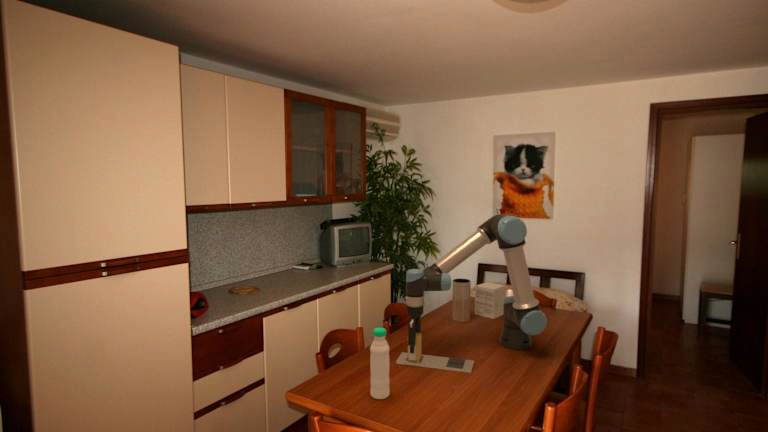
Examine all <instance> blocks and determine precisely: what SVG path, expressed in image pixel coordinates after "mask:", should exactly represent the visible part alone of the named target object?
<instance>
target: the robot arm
mask: <svg viewBox="0 0 768 432" xmlns="http://www.w3.org/2000/svg"><path fill="white" fill-rule="evenodd" d="M527 230H528V229H527V225H526V224H525V222H524V221H523V220H522V219H521V218H519V217H517V216H514V215H509V214H502V213H499V214H495V215H493V216H491V217H490V218H488V219H487V220H485V221H483V223H481V224H480V225H478V227H477V228H476V230H475V232H473V233H472V234H471V235H469V236H468V237H467V238H466V239H464V240H463V241H462V242H460V243H459V244H458V245H456V246H455V247H454V248H452V249H451V250H450V251H449V252H447V253H446V254H445V255H443V256H441V258H439V259H438V260H436V262H434V263H433V264H431V265H430V266H429V265H428V266H425V267H423V268H422V269H420V268H412V269H411V268H410V269H408V270H406V276H405V295H406V296H405V297H404V299H405V300H406V301H405V302H406V303H405V304H406V306H405V313H406V315H408V316H410V318H409V320H408V324H407V325H408V330H407V331H408V332H407V333H408V335H407V343H406V344H407V347H408V346H409V360H416V345H415V340H416V332H417V333H422V323H421V321H422V320H421V316H423V315H424V292H444V291H445V292H446V291H450V290H451V287H452V278H451V275H450V273H451V271H453V270H454V269H455V268H457V267H459V265H461V264H463V262H465V261H467V259H468V258H470V257H471V256H472V255H474V254H475V253H477V252H478V251H479V250H480V249H482V248H483V247H485V246H486V245H491V244H492V243H493V242H496V241H497V245H498V249H499V250H501V251H502V252H503V256H504V261H505V265H506V268H507V273H508V277H509V281H510V285H511V290H512V294H513V295H510V296H509V295H508V296H506V298H504V303H503V305H504V315H502V316H503V320H502V321H503V327H502V330H501V333H500V334H499V339H498V340H499V342H498V344H500V345H501V346H503V347H505V348H507V349H512V350H527V349H529V348H530V349H531V348H532V346H533V339H532V336H537V335H539V334H541V333H542V332H543V331H544V330H545V329H546V328H547V325H548V318H547V314H545V313H544V312H543V311H542V310H541V309H542V308H541V305H540V301H539V299H537V298H535V294H534V290H533V286H532V283H531V282H532V281H531V277H530V273H529V268H528V264H527V259H526V255H525V250H524V247H525V245H526V243H527V242H526V236H527V232H528V231H527Z"/></svg>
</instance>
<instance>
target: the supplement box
mask: <svg viewBox="0 0 768 432" xmlns="http://www.w3.org/2000/svg"><path fill="white" fill-rule="evenodd" d="M506 291H507V286H506V285H505V284H499V283H494V282H488V281H487V282H484V283H480V284H476V285H474V315H475V316H476V315H477V316H481V317H483V318H487V319H493V320H495V319H496V318H500V317H502V316H503V315H504V305H503V303H504V298H506V297H507V295H506V294H507V292H506Z"/></svg>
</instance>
